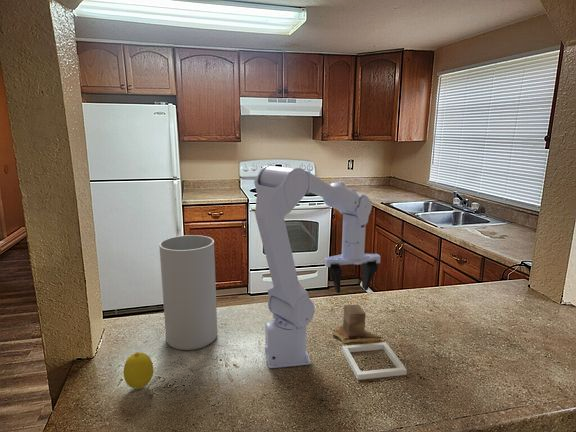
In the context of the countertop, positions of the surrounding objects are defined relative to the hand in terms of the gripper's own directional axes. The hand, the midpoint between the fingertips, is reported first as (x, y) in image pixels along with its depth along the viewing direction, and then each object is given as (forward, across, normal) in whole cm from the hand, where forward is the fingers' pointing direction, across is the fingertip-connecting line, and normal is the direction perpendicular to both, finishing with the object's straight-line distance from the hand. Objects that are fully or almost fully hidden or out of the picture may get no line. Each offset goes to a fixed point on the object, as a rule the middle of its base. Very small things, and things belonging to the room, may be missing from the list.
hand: (351, 290), depth 100 cm
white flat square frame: (+10, -1, -16) cm, 19 cm away
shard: (+11, 0, -4) cm, 12 cm away
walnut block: (+9, -1, -5) cm, 10 cm away
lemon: (+10, -51, -15) cm, 54 cm away
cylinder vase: (+10, -41, +2) cm, 42 cm away
